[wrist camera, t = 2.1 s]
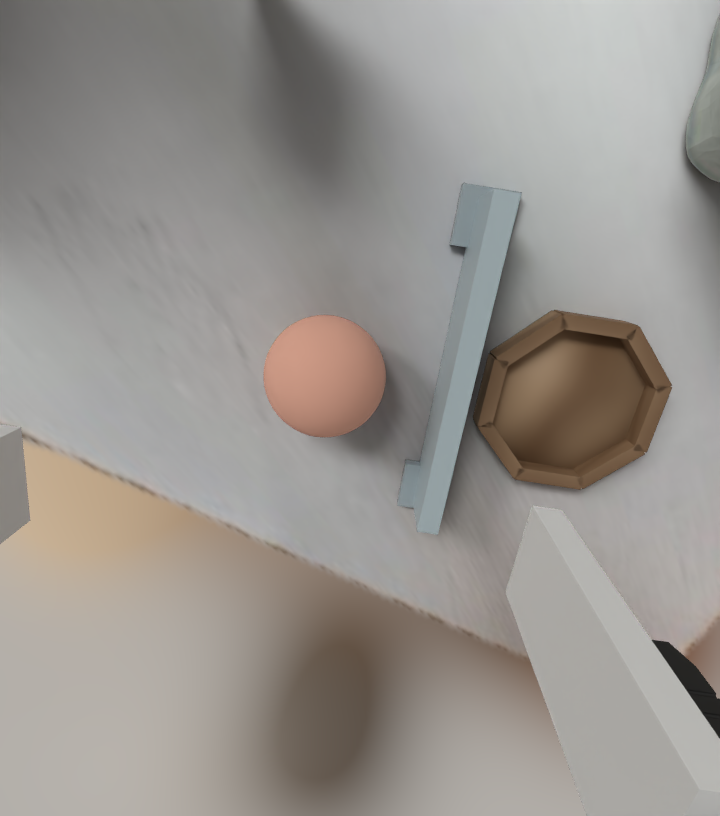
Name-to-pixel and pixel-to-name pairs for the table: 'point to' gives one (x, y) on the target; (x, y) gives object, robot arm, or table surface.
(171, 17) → the table surface
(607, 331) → the cork ring
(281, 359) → the ball
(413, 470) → the low wall
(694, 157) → the teapot
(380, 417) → the table surface
